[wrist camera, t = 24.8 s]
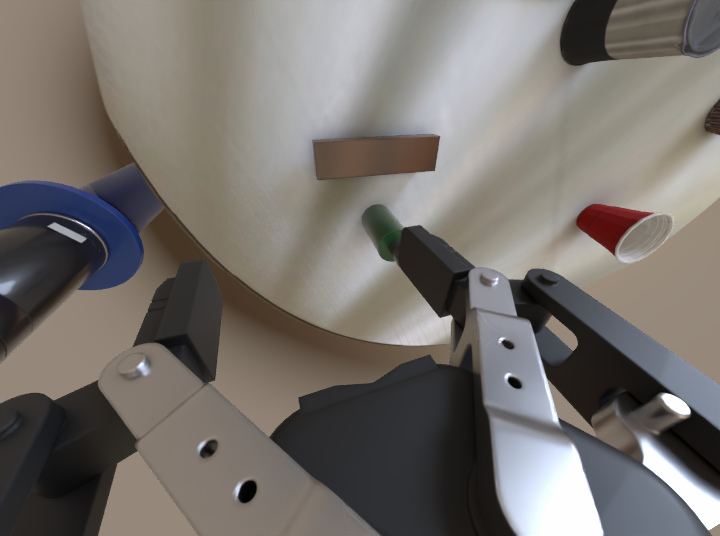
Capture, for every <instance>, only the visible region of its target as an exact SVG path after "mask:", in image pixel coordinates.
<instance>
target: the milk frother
mask: <svg viewBox="0 0 720 536" xmlns="http://www.w3.org/2000/svg"><path fill="white" fill-rule="evenodd" d="M719 48H720V0H576V2H575V3H574V5H573V7H572V9H571V11H570V13H569V15H568V17H567V20H566V22H565V25H564V29H563V33H562V40H561V49H562V53H563V56H564V58H565V60H566V62H568V63H569V64H571V65H575V66H579V65H583V64H586V63H590V62H598V61H606V60H620V59H638V58H651V57H664V56H679V55H686V56H690V57H694V58H700V57H704V56H707V55H709V54H711V53H713V52H715V51H716V50H718V49H719Z"/></svg>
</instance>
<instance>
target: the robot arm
mask: <svg viewBox="0 0 720 536" xmlns="http://www.w3.org/2000/svg"><path fill="white" fill-rule="evenodd" d="M109 257H110V249H109V245H108V243H107V241H106V240H105V238H104V237H103V236H102V235H101V234H100V233H99V232H98V231H97V230H96V229H95V228H93V227H92V226H91V225H89V224H87V223H86V222H84V221H82V220H80V219H78V218H75V217H73V216H70V215H66V214H62V213H57V212H35V213H32V214H29V215H27V216H25V217H22V218H20V219H19V220H18V221H16V222H15V223H12V224H10V225H8V226H6V227H4V228H2V229H0V364H1V363H2V361H4V360H5V359H6V358H7V357H8V356H9V355H10V354H11V353H12V352H13V351H14V350H15V349H16V348H17V347H18V346H19V345H20V344H22V342H23V341H25V339H27V338H28V336H30V335H31V334H32V333H33V332H34V331H35V330H36V329H37V328H38V327H39V326H40V325H41V324H42V323H43V322H44V321H45V320H46V319H47V318H48V317H49V316H50V315H51V314H53V313H54V312H55V311H56V310H57V309H58V308H59V307H60V306H61V305H62V304H63V303H64V302H65V301H66V300H67V299H68V298H69V297H70V296H71V295H72V294H73V293H74V292H75V291H76V290H78V289H79V288H80V287H81V286H82V285H83V284H84V283H85V282H86V281H87V280H88V279H89V278H90V277H91V276H92V275H93V274H94V273H95V272H96V271H98V270H99V269H101V268H102V267H103V266H104V265H105V264H106V263H107V261H108V260H109ZM398 262H399V266H400V268H401V269H402V271H403V272H404V273H405V274H406V276H407V277H408V278H409V279H410V281H411V282H412V283H413V285H414V286H415V287H416V288H417V290H418V291H419V292H420V293H421V295H422V296H423V297H424V298H425V300H426V301H427V302H428V303H429V305H430V306H431V307H432V309H433V310H434V311H435V312H436V314H437V315H438V316H439V317H440V318H441V317H445V316H448V315H451V316H452V317H453V319H452V322H451V342H450V362H449V365H445V364H436V363H435V362H434V360H433V359H432V357H431V356H430V355H427V356H424V357H421V358H418V359H415V360H412V361H409V362H406V363H403V364H401V365H399V366H398V367H396V368H395V369H393V370H392V371H390V372H389V373H387V374H386V375H384V376H383V377H381V378H380V379H378V380H377V381H375V382H374V383H369V384H353V385H339V386H332V387H330V388H327V389H323V390H320V391H317V392H314V393H311V394H308V395H305V396H302V397H299V404H300V409H299V410H297V411H296V412H294V413H293V414H291V415H290V416H289V417H288V418H287V419H285V420H284V421H283V422H282V423H281V424H280V425H279V426H278V427H277V428H276V429H275V431H274V432H273V433H272V434H271V436H270V437H268V436H267V435H266V434H265V433H264V432H262V431H261V430H260V429H259V428H258V427H257V426H256V425H255V424H254V423H253V422H251V421H250V420H249V419H248V418H247V417H246V416H245V415H244V414H243V413H242V412H240V410H238V409H237V408H236V407H235V406H234V405H233V404H232V403H231V402H230V401H229V400H228V399H226V398H225V397H224V396H223V395H222V394H221V393H220V392H219V391H218V390H216V389H215V388H214V387H213V386H212V385H211V384H209V383H208V382H211V381H214V380H215V376H216V365H217V356H218V346H219V336H220V326H221V316H222V305H223V304H222V296H221V292H220V290H219V287H218V284H217V282H216V280H215V277H214V275H213V273H212V270H211V268H210V265H209V263H208V261H207V260H206V259H199V260H194V261H187V262H182V263H181V264H180V267H179V269H178V272H177V275H176V277H175V278H169V279H167V280H166V281H164V283H163V284H161V285H160V286H159V287H158V288H157V290H156V292H155V294H154V296H153V299H152V303H151V304H150V306H149V309H148V313H146V316H145V318H144V321H143V323H142V326H141V328H140V330H139V333H138V335H137V338H136V340H135V343H134V345H133V347H132V348H130V349H128V350H126V351H124V352H123V353H121V354H120V355H118V356H117V357H115V358H114V359H113V360H112V361H111V362H110V363H108V364H107V366H106V367H105V368H104V369H103V371H102V372H101V374H100V377H99V379H98V380H97V381H95V382H93V383H91V384H89V385H87V386H85V387H83V388H80V389H78V390H76V391H74V392H72V393H69V394H67V395H65V396H63V397H61V398H59V399H57V400H54V401H53V400H52V399H50V398H49V397H47V396H46V395H44V394H41V393H29V394H25V395H20V396H17V397H15V398H12V399H10V400H7V401H5V402H3V403H1V404H0V536H98V533H99V530H100V526H101V522H102V519H103V515H104V511H105V507H106V504H107V500H108V496H109V493H110V489H111V485H112V481H113V478H114V474H115V470H116V467H117V463H119V462H120V461H122V460H123V459H125V458H127V457H128V456H130V455H132V454H133V453H135V452H137V451H138V452H139V453H140V455H141V456H142V457H143V459H144V460H145V462H146V463H147V465H148V466H149V467H150V469H151V470H152V472H153V473H154V474H155V476H156V477H157V479H158V480H159V481H160V483H161V484H162V485H163V487H164V488H165V490H166V491H167V493H168V494H169V495H170V497H171V498H172V499H173V501H174V502H175V504H176V505H177V506H178V508H179V509H180V511H181V512H182V513H183V515H184V516H185V518H186V519H187V520H188V522H189V523H190V525H191V526H192V527H193V529H194V530H195V532H196V533H197V534H198V536H712V535H711V533H710V532H709V529H711V528H713V527H714V526H716V525H717V524H719V523H720V385H719V384H717V383H716V382H714V381H713V380H712V379H710V378H709V377H707V376H706V375H704V374H703V373H701V372H700V371H699V370H697V369H696V368H694V367H693V366H691V365H690V364H688V363H687V362H685V361H684V360H682V359H681V358H680V357H678V356H677V355H675V354H674V353H672V352H671V351H669V350H668V349H667V348H665V347H664V346H662V345H661V344H659V343H658V342H656V341H655V340H654V339H652V338H650V337H649V336H647V335H646V334H645V333H643V332H642V331H640V330H639V329H638V328H636V327H635V326H633V325H632V324H630V323H629V322H627V321H626V320H624V319H623V318H622V317H620V316H619V315H617V314H616V313H614V312H613V311H611V310H610V309H609V308H607V307H606V306H604V305H603V304H601V303H599V302H598V301H597V300H595V299H594V298H593V297H591V296H590V295H588V294H587V293H585V292H584V291H582V290H581V289H580V288H578V287H577V286H575V285H574V284H572V283H571V282H569V281H568V280H566V279H565V278H564V277H562V276H560V275H559V274H557V273H554V272H552V271H549V270H545V269H531V270H529V271H528V272H527V274H526V276H525V278H524V280H510V279H507V278H506V277H505V276H504V275H503V274H501V273H500V272H498V271H496V270H493V269H490V268H484V267H478V268H476V267H474V266H473V265H472V264H471V263H470V262H468V261H467V260H466V259H465V258H464V257H463V256H461V255H460V254H459V253H458V252H457V251H456V252H455V250H454V249H453V248H452V247H451V246H449V245H448V244H447V243H446V242H445V241H444V240H442V239H441V238H439V237H437V236H435V235H432V234H430V233H429V232H428V231H426V230H425V229H424V228H423V227H422V226H420V225H418V226H411V227H405V228H403V229H402V232H401V239H400V246H399V253H398ZM552 315H553V316H554V317H555V318H557V319H558V320H559V321H560V322H561V323H562V324H564V325H565V326H566V327H567V328H568V329H569V330H571V331H572V332H573V333H574V334H575V336H576V337H577V340H578V346H577V348H576V349H575V350H574V351H572V350H571V349H570V348H569V347H568V346H567V345H565V344H564V343H563V342H562V341H561V340H560V339H559V338H558V337H557V336H556V335H555V334H554V333H552V332H551V331H550V330H549V329H548V328H547V327H546V326H545V324H546V323H547V322H548V320H549V319H550V317H551V316H552ZM547 379H548V380H549V381H550V382H551V383H552V384H553V385H554V386H555V387H556V388H557V390H558V391H559V392H560V393H561V394H562V395H563V396H564V397H565V398H566V399H567V401H568V402H569V403H570V404H571V405H572V406H573V407H574V408H575V409H576V410H577V411H578V412H579V414H580V415H581V416H582V417H583V418H584V419H585V420H586V421H587V422H588V423H589V424H590V425H591V427H592V428H593V429H594V431H595V433H596V435H597V436H595V437H594V436H592V435H590V434H588V433H586V432H584V431H582V430H580V429H579V428H577V427H575V426H573V425H571V424H569V423H567V422H565V421H563V420H561V419H560V418H558V416H557V413H556V409H555V406H554V402H553V399H552V395H551V392H550V388H549V385H548V381H547Z"/></svg>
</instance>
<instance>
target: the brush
mask: <svg viewBox="0 0 720 536" xmlns="http://www.w3.org/2000/svg"><path fill="white" fill-rule="evenodd" d="M439 139H440V136H438V135H434V134H423V135H403V136H382V137H362V138H341V139H321V140H312V142H313V152H314V161H315V170H316V177H317V180H322V179H335V178H348V177H361V176H374V175H387V174H399V173H412V172H425V171H435V165H436V159H437V152H438V146H439Z"/></svg>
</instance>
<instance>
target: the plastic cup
mask: <svg viewBox="0 0 720 536" xmlns="http://www.w3.org/2000/svg"><path fill="white" fill-rule="evenodd" d="M674 223H675V220H674V217H673V215H671V214H669V213H666V212H660V213H652V212H651V213H649V212H641V211H635V210H630V209H625V208H619V207H614V206H613V207H611V206H606V205H601V204H593V205H591V206H589V207H587V208H586V209H585V210H583V211H582V213H581V214H580V215H579V217H578V219H577V226H578V227H579V228H580V229H581V230H583V231H584V232H585V233H587V234H588V235H589V236H590V237H591V238H593V239H594V240H596V241H597V242H598V243H600V244H601V245H602V246H604V247H605V248H606V249H608V250H609V251H610V252H611V253H612V254H613V255H614V256H615V257H616V259H617V260H618V261H619V262H621V263H625V264H628V263H634V262H637V261H639V260H641V259H643V258H645V257H647V256H649V255H650V254H651V253H653V252H654V251H656V250H657V249H658V248H659V247H660V246H661V245H662V244H663V243H664V242H665V241H666V240H667V238H668V237H669V235H670V234H671V232H672V230H673V227H674Z"/></svg>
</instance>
